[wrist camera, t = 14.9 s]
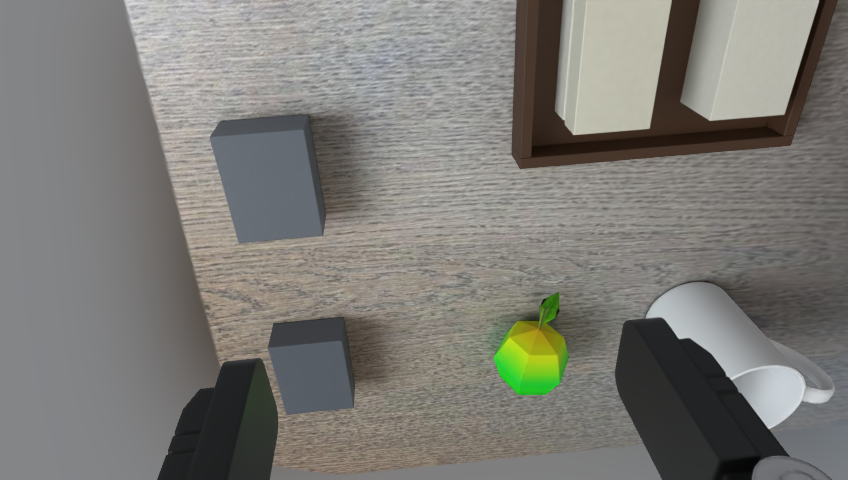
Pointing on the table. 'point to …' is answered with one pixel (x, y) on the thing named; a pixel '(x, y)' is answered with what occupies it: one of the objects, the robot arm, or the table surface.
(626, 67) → the cream layered block
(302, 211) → the pair of grey blocks
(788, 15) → the cream rectangular block
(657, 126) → the tray
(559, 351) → the apple
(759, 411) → the mug
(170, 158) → the table surface
